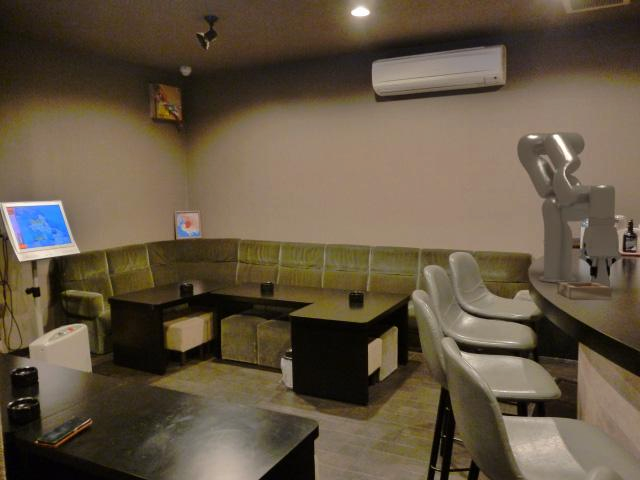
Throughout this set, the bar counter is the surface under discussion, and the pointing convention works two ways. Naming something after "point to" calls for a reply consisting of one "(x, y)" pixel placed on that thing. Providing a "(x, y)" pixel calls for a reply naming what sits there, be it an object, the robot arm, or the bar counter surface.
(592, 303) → the bar counter surface
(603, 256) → the salt shaker
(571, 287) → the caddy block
